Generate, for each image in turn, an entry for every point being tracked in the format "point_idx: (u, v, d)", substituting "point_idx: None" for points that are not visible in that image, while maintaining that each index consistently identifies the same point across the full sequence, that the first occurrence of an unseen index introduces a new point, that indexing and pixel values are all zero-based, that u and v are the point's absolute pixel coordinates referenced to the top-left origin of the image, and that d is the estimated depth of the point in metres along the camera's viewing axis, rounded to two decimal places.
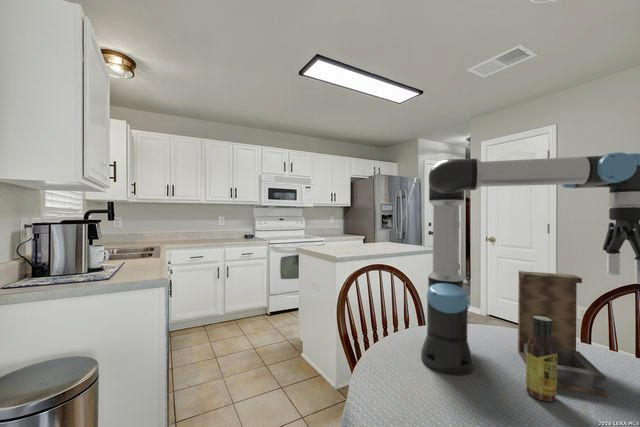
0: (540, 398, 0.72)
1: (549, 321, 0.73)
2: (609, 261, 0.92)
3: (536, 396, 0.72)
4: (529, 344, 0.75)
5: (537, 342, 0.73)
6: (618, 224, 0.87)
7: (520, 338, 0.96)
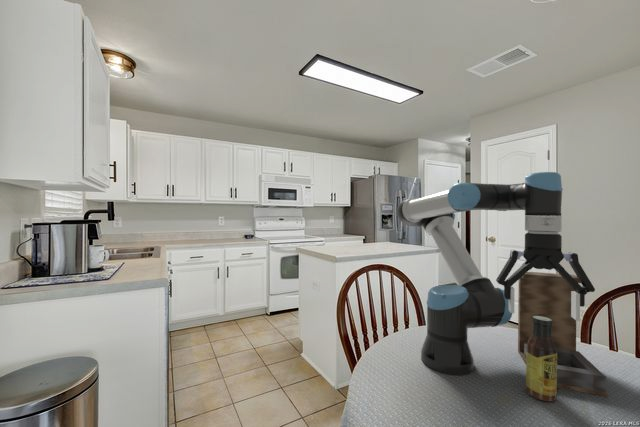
0: (540, 398, 0.72)
1: (549, 321, 0.73)
2: (571, 301, 0.73)
3: (536, 396, 0.72)
4: (529, 344, 0.75)
5: (537, 342, 0.73)
6: None
7: (520, 338, 0.96)
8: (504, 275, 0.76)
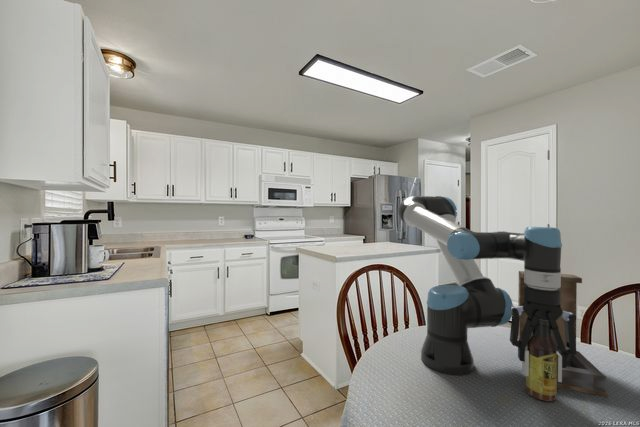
0: (540, 398, 0.72)
1: (548, 321, 0.73)
2: None
3: (536, 396, 0.72)
4: (529, 344, 0.75)
5: (536, 342, 0.73)
6: None
7: None
8: (515, 335, 0.75)
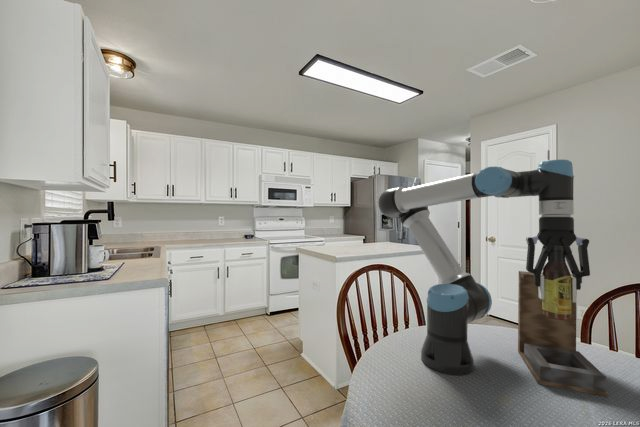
0: (555, 318, 0.77)
1: (562, 247, 0.78)
2: None
3: (552, 316, 0.78)
4: (544, 270, 0.81)
5: (551, 267, 0.79)
6: None
7: (520, 338, 0.96)
8: (530, 263, 0.81)
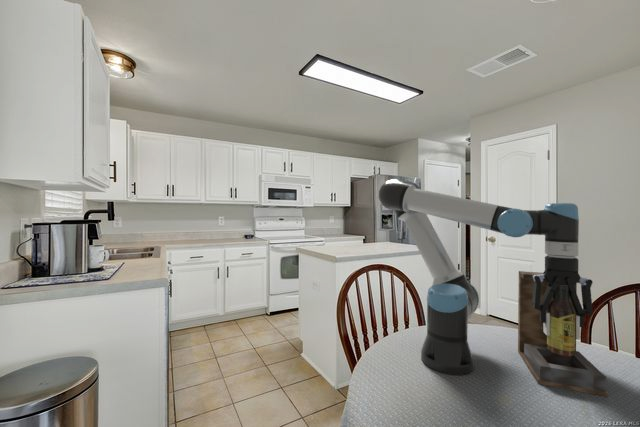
0: (560, 354, 0.81)
1: (567, 286, 0.82)
2: None
3: (557, 352, 0.82)
4: (549, 307, 0.84)
5: (557, 305, 0.83)
6: None
7: (520, 338, 0.96)
8: (537, 300, 0.85)
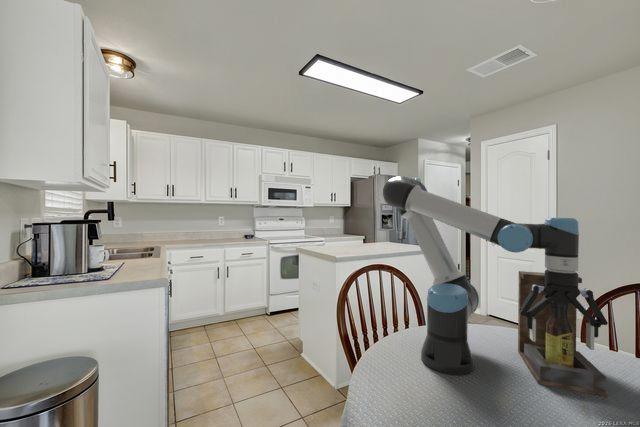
0: None
1: (565, 304, 0.83)
2: (586, 331, 0.83)
3: None
4: (548, 325, 0.85)
5: (555, 323, 0.83)
6: None
7: (520, 338, 0.96)
8: (526, 307, 0.86)
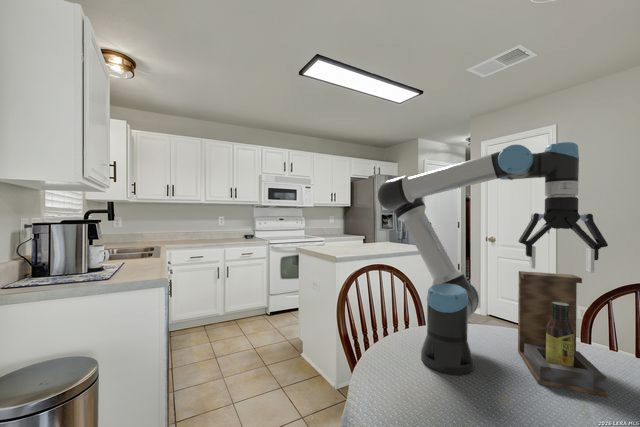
0: None
1: (567, 306, 0.82)
2: (586, 256, 0.83)
3: None
4: (549, 326, 0.84)
5: (556, 324, 0.83)
6: None
7: (520, 338, 0.96)
8: (526, 235, 0.86)
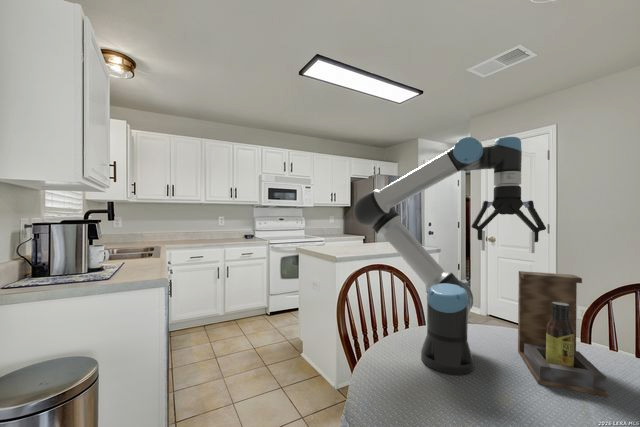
0: None
1: (567, 306, 0.82)
2: (529, 239, 0.92)
3: None
4: (549, 326, 0.84)
5: (556, 324, 0.83)
6: None
7: (520, 338, 0.96)
8: (477, 221, 0.96)
